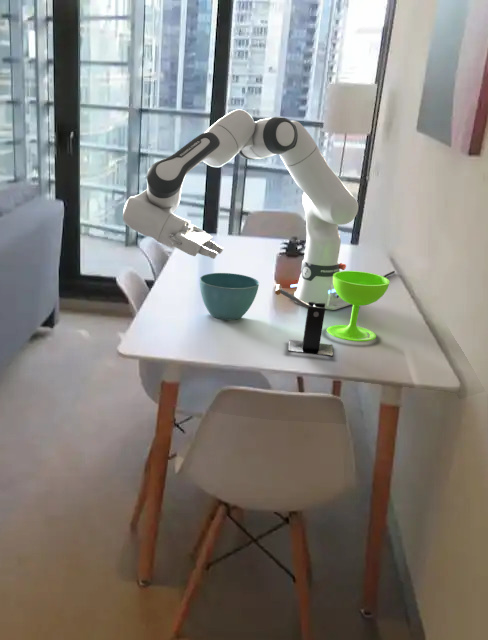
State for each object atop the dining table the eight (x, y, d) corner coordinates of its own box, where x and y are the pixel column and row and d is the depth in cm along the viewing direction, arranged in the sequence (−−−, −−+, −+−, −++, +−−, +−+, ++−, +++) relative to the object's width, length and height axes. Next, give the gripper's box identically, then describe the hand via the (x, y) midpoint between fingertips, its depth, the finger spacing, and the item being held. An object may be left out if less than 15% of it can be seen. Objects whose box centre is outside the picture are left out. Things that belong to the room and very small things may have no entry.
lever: (273, 294, 195) (277, 287, 194) (274, 288, 200) (278, 281, 199) (318, 320, 195) (323, 313, 194) (317, 314, 200) (322, 307, 199)
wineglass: (346, 348, 206) (357, 287, 199) (312, 330, 219) (321, 272, 212) (390, 342, 212) (401, 283, 205) (354, 325, 225) (364, 269, 218)
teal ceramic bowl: (186, 311, 231) (189, 274, 226) (235, 306, 238) (239, 270, 233) (214, 329, 216) (218, 290, 211) (265, 324, 222) (270, 286, 218)
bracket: (287, 354, 199) (294, 307, 194) (288, 343, 207) (295, 298, 202) (332, 360, 197) (340, 312, 191) (331, 348, 205) (338, 302, 199)
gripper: (170, 226, 191) (217, 248, 189) (187, 218, 210) (229, 238, 208) (161, 247, 193) (207, 269, 192) (178, 238, 212) (220, 258, 210)
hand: (219, 253), depth 200 cm, fingers open, 8 cm apart
